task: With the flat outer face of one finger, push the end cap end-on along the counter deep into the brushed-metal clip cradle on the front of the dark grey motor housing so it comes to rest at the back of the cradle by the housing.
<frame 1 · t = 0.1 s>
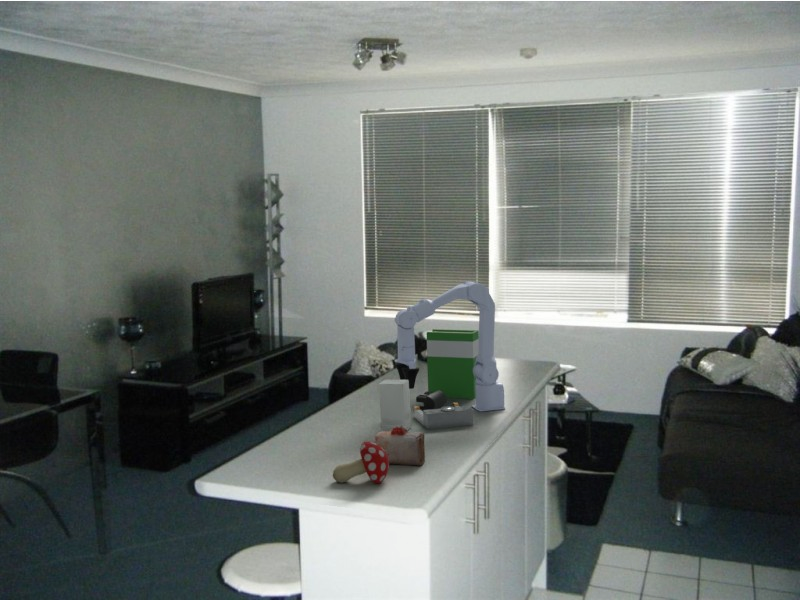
hand: (407, 386, 268), 10 cm above the worktop, tool pointing down, fingers open, 7 cm apart
food item: (400, 462, 220), on the worktop
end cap: (431, 413, 273), on the worktop
skincare box: (395, 430, 252), on the worktop
decorative mushroom: (362, 481, 205), on the worktop
motor housing with clip cradle: (441, 419, 262), on the worktop
green box: (454, 395, 297), on the worktop
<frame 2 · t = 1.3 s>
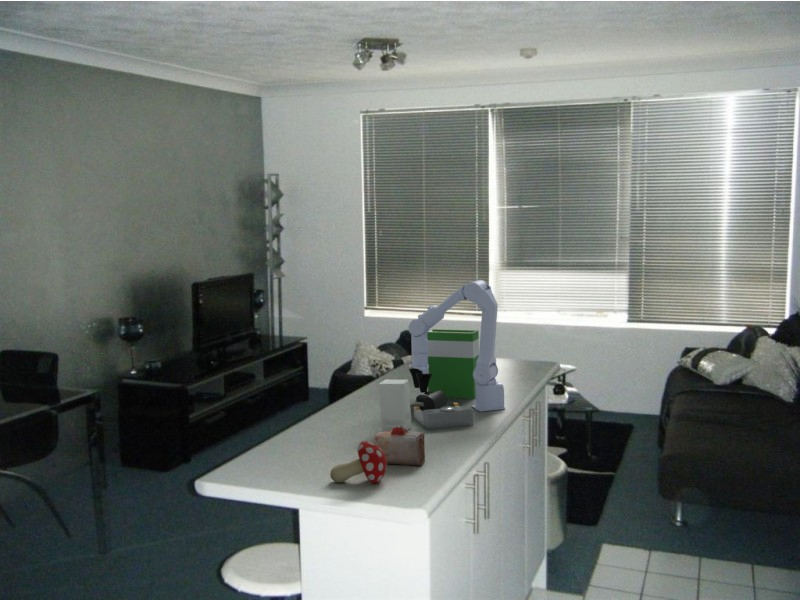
hand: (420, 390, 285), 5 cm above the worktop, tool pointing down, fingers open, 7 cm apart
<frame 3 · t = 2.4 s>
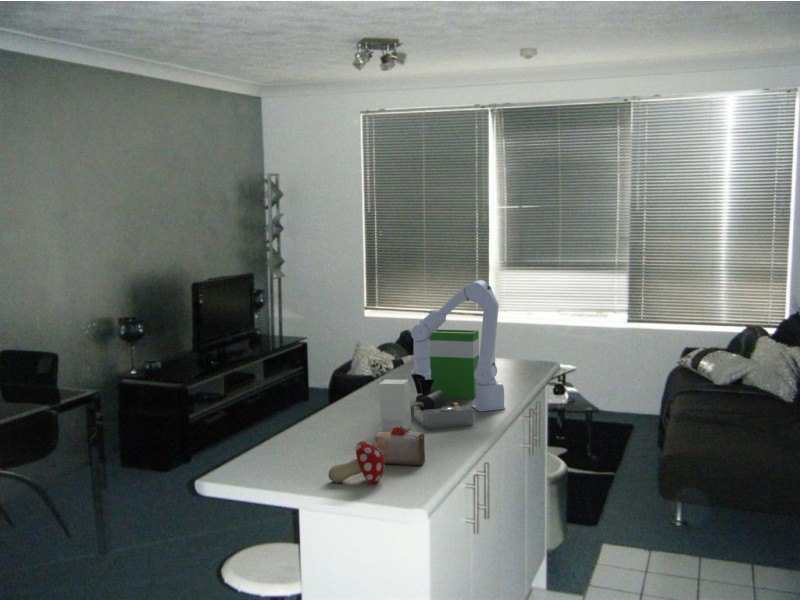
hand: (423, 395, 283), 3 cm above the worktop, tool pointing down, fingers open, 7 cm apart
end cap: (431, 412, 273), on the worktop, touching gripper
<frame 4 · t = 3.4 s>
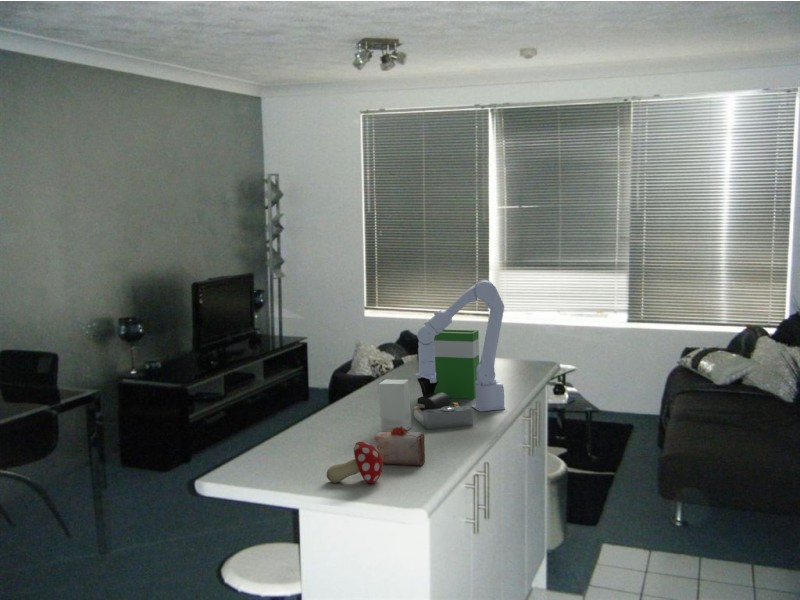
hand: (428, 399, 277), 3 cm above the worktop, tool pointing down, fingers open, 3 cm apart
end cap: (433, 415, 269), on the worktop, touching gripper, motor housing with clip cradle
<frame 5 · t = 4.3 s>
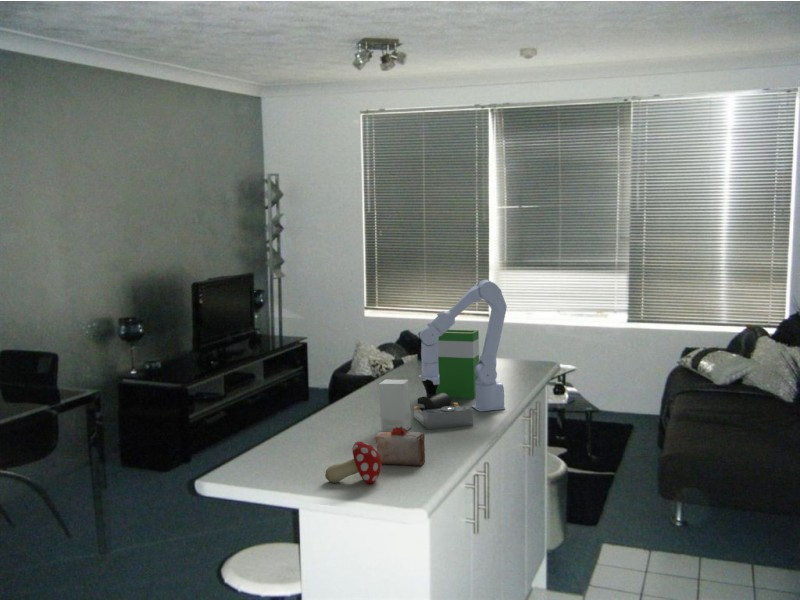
hand: (431, 401, 275), 3 cm above the worktop, tool pointing down, fingers closed, pressing on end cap
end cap: (434, 415, 269), on the worktop, touching gripper, motor housing with clip cradle
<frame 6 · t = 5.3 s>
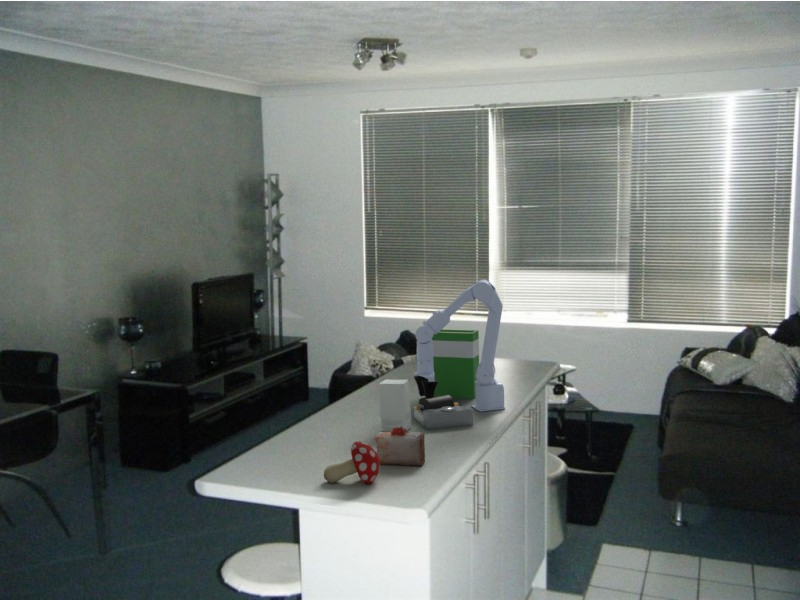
hand: (426, 398, 279), 3 cm above the worktop, tool pointing down, fingers open, 7 cm apart
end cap: (436, 417, 267), on the worktop
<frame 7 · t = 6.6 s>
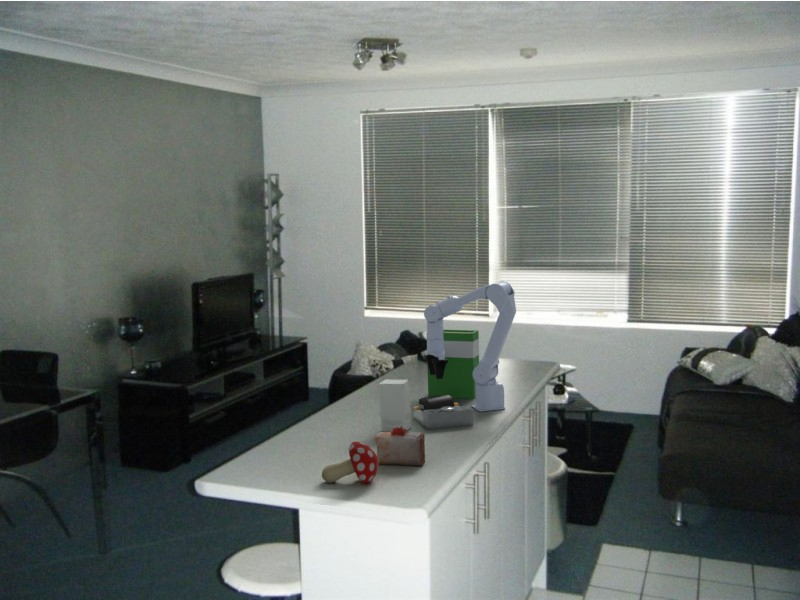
hand: (436, 376, 283), 10 cm above the worktop, tool pointing down, fingers open, 7 cm apart
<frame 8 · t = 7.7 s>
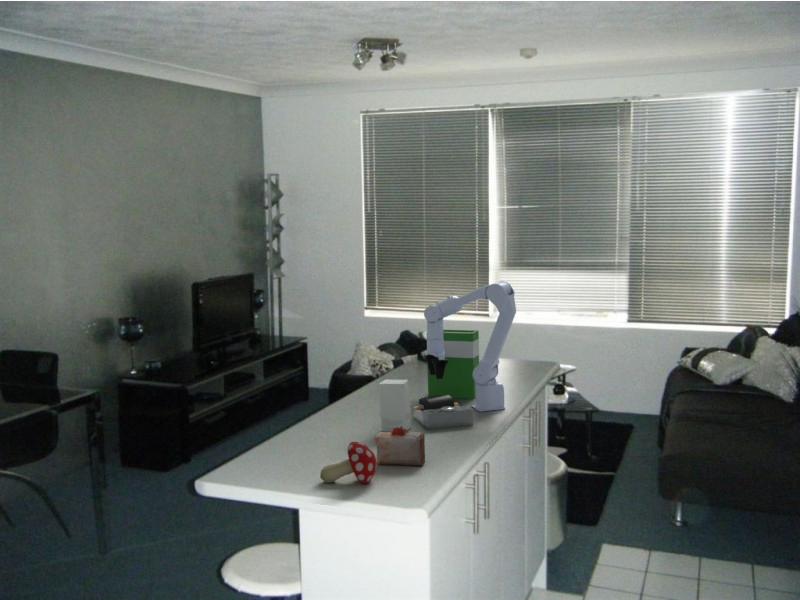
hand: (436, 376, 283), 10 cm above the worktop, tool pointing down, fingers open, 7 cm apart
at the end: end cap inside the target area on the motor housing with clip cradle (2.7 cm from its centre), point 0.0 cm above the motor housing with clip cradle's base; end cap moved 6.1 cm from its start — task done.
